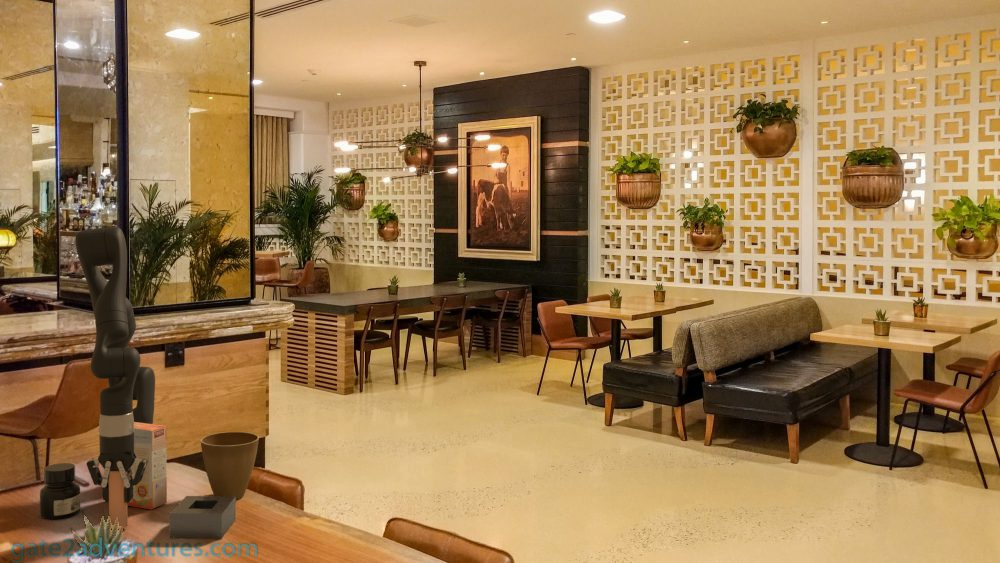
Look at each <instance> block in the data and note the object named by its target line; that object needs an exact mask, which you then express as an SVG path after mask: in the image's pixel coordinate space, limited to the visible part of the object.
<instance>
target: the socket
mask: <svg viewBox="0 0 1000 563" xmlns="http://www.w3.org/2000/svg"><path fill="white" fill-rule="evenodd" d="M236 504H237V503H236V496H214V495H186V496H184V498H183V499H182V500H181V501H179V503H178V504H177V505H176V506H175V507H174V508H173V509H172V510H171V512H169V539H187V540H189V539H193V540H194V539H197V540H198V539H200V540H201V539H202V540H205V539H207V540H209V539H211V540H212V539H213V540H215V539H216V540H219V539H223V538H224V537H225V535H226V534H227V532H228V531H229V529H231V527H232V526H233V525H234V523H235V521H236V516H237V515H236V514H237V512H236V511H237V510H236V509H237V508H236V506H237V505H236Z"/></svg>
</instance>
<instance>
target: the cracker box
mask: <svg viewBox="0 0 1000 563" xmlns="http://www.w3.org/2000/svg"><path fill="white" fill-rule="evenodd" d="M134 453H135V455H136V458H139V459H142V460H143V459H147V460H148V463H147V466H146V469H145V471H144V474H143V477H142V480H141V482H139V483H138V484H137V485H134V486H133V498H132V499H131V500H130V501H129V502H128V503H127V507H134V508H140V509H146V510H154V509H156V508H158V507H160V506H163V505H165V504H167V499H168V498H167V496H168V494H167V488H168V486H167V479H168V478H167V474H168V473H167V426H166V425H162V424H154V423H153V424H147V423H139V422H134ZM131 470H132V477H133V479H134V477H135V474H136V471H137V468H136V464H135V463H133V465H132V466H131Z"/></svg>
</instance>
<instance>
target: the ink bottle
mask: <svg viewBox="0 0 1000 563" xmlns="http://www.w3.org/2000/svg"><path fill="white" fill-rule="evenodd" d="M43 473H44V474H43V478H44V479H43V480H44V486H43V487H42V488H41V489H40V490H39V513H40V514H39V515H40V517H41V518H42V519H45V520H63V519H68V518H71V517H73V516H75V515H77V514H78V513H80V511H81V486H80V485H79V483H77V482H75V480H76V465H75V464H74V463H71V462H70V463H69V462H62V463H61V462H60V463H54V464H50V465H47V466H45V467H44V469H43Z"/></svg>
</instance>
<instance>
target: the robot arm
mask: <svg viewBox="0 0 1000 563" xmlns="http://www.w3.org/2000/svg"><path fill="white" fill-rule="evenodd" d="M74 238H75V248H76V254H77V257H78V260H79V263H80V266H81V269H82V272H83V275H84V277H85V281H86V285H87V288H88V292H89V296H90V300H91V306H92V311H93V314H94V322H95V323H94V324H95V337H96V338H95V345H94V348H93V353H92V356H91V362H90V370H91V373H92V374H93V376H94V377H95V378H97V379H100V380H101V379H103V380H105V379H107V381H108V387H106V388H103V389H102V390H101V391H100V394H99V408H100V409H99V411H100V412H99V423H98V426H99V427H98V434H99V435H98V436H99V439H98V440H99V456H97V458H91V459H90V460H88V461H87V462H86V466H87V470H88V472H89V475H90V478H91V481H92V482H93V485H95V486H100V487H101V488H102V489H101V491H102V493H101V494H102V500H103V501H104V503H105V504H106V503H108V504H109V483H108V479H109V472H110V471H120V474H121V478H122V479H123V481H124V484H125V488H124V500H125V503H128V502H129V501H130V500H131V499H132V498H133V486H134V485H137V484H138V483H139V482H141V480H142V477H143V474H144V471H145V469H146V466H147V463H148V460H147V459H143V460H142V459H139V458H136V455H135V453H134V422H139V423H147V424H154V413H155V393H156V375H155V371H154V370H153V368H152V367H150V366H140V365H141V354H140V353H139V351H138V350H137V349H136V348H135V347H133V346H128V345H129V343H130V342H131V340H132V339H133V337H134V334H135V333H136V328H137V322H136V317H135V314H134V309H133V308H134V307H133V305H132V303H131V301H130V300H129V299H128V298H127V280H128V279H127V278H128V277H127V273H128V270H127V269H128V250H127V242H126V238H125V234H124V232H123V230H122V229H121V228H120V227H118V226H110V227H102V228H101V227H100V228H92V229H84V230H80V231H78V232H77V233H76V235H75V237H74ZM106 265H107V266H109V265H112V270H111V274H110V276H109V279H108V280H107V279H106V278H105V276H104V275H103V273H102V272H101V270H100V268H99V266H100V267H101V266H106ZM133 401H136V406H135V407H134V405H133ZM133 407H134V408H133ZM133 463H135V464H136V468H137V471H136V474H135V477H134V479H133V477H132V470H131V466H132V465H133ZM99 466H101V467H103V473H101V469H100V467H99ZM126 472H127V473H126Z"/></svg>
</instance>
